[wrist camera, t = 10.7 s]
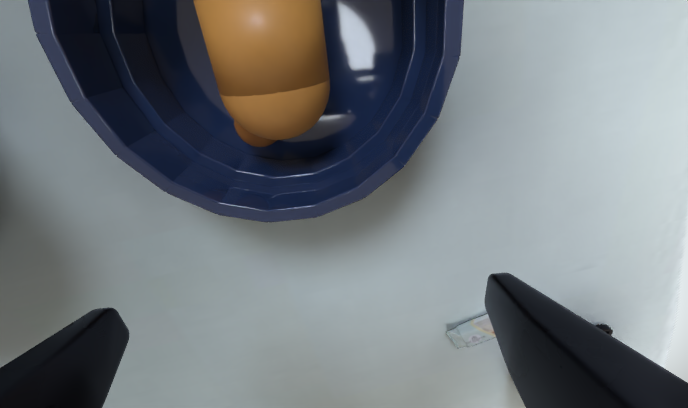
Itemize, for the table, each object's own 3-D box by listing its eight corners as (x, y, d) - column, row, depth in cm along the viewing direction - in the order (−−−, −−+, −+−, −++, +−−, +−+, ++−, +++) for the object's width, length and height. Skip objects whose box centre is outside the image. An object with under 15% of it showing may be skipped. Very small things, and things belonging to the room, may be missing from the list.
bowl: (425, -193, 11) (486, -337, 7) (421, 159, 18) (451, 203, 13) (58, -144, 11) (-112, -251, 7) (185, 186, 18) (138, 237, 13)
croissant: (310, -94, 12) (300, -153, 8) (336, 131, 16) (338, 163, 12) (189, -79, 12) (122, -129, 8) (247, 141, 16) (220, 176, 12)
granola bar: (453, 343, 25) (458, 355, 24) (443, 326, 24) (447, 338, 23) (539, 311, 24) (547, 323, 23) (532, 292, 23) (540, 303, 22)
